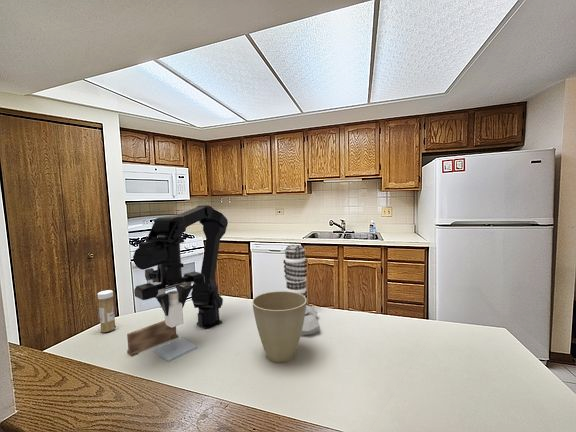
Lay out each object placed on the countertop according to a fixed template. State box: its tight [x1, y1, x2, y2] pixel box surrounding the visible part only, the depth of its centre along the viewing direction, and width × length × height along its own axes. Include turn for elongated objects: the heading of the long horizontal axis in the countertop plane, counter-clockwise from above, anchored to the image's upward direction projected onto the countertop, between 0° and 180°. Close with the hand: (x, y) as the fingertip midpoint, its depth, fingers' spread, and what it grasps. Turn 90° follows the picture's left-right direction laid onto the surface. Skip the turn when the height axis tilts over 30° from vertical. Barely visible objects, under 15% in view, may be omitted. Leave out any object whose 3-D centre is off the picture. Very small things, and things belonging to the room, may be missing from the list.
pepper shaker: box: [164, 290, 184, 328], centre depth 83 cm, size 4×4×10 cm
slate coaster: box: [152, 337, 198, 363], centre depth 84 cm, size 9×9×1 cm
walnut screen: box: [126, 319, 179, 357], centre depth 87 cm, size 14×3×6 cm, turn 140°
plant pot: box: [251, 290, 308, 363], centre depth 78 cm, size 15×15×16 cm
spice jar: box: [97, 289, 117, 333], centre depth 98 cm, size 5×5×13 cm
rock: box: [300, 304, 320, 337], centre depth 97 cm, size 18×20×10 cm
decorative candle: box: [283, 244, 308, 305], centre depth 111 cm, size 9×9×25 cm
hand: (173, 313), depth 83 cm, fingers closed on pepper shaker, 4 cm apart
